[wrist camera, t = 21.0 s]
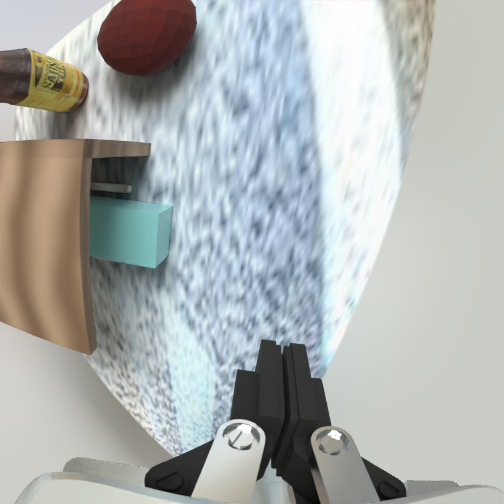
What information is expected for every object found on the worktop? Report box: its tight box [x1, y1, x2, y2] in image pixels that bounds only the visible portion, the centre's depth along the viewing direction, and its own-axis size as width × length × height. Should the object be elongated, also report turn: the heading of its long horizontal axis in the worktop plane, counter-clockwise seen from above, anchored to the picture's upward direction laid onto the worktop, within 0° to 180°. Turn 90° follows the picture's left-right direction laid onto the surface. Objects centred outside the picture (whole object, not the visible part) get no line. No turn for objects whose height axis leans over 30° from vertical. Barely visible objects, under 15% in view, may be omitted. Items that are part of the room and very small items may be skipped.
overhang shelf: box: [0, 139, 151, 355], centre depth 29 cm, size 14×19×14 cm
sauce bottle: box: [0, 48, 88, 112], centre depth 21 cm, size 6×6×20 cm
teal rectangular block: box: [89, 196, 173, 269], centre depth 33 cm, size 16×6×5 cm, turn 81°
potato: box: [97, 0, 197, 76], centre depth 25 cm, size 12×11×8 cm
